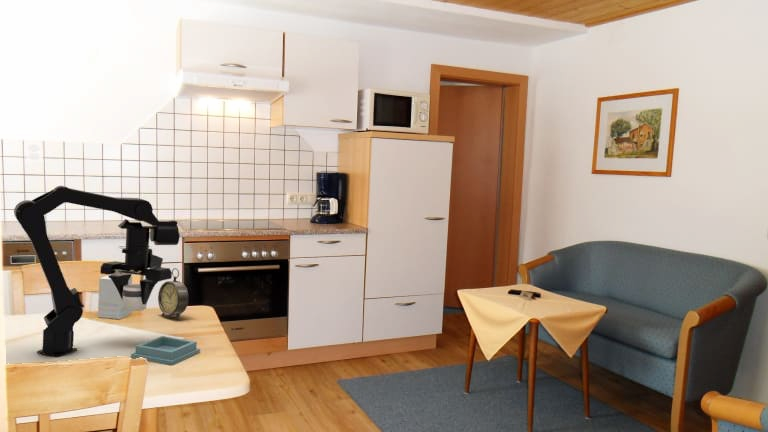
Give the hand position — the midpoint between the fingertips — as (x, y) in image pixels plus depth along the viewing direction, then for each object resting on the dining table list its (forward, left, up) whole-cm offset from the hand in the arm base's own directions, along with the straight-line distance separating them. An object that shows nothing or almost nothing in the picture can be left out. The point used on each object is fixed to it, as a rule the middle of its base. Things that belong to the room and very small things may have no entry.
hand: (134, 302), depth 156 cm
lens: (0, 0, -2) cm, 2 cm away
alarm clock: (+30, +9, -12) cm, 33 cm away
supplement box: (+22, +25, -12) cm, 35 cm away
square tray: (-3, -13, -12) cm, 18 cm away
